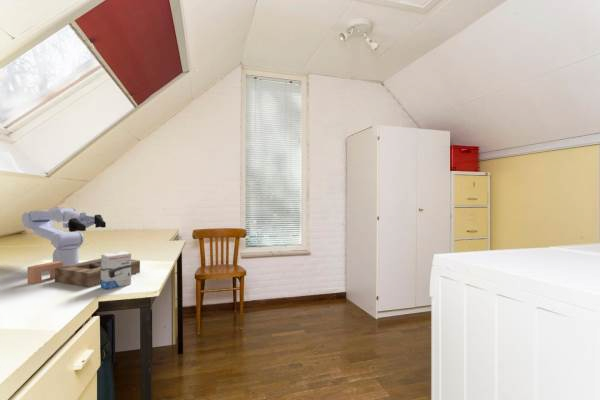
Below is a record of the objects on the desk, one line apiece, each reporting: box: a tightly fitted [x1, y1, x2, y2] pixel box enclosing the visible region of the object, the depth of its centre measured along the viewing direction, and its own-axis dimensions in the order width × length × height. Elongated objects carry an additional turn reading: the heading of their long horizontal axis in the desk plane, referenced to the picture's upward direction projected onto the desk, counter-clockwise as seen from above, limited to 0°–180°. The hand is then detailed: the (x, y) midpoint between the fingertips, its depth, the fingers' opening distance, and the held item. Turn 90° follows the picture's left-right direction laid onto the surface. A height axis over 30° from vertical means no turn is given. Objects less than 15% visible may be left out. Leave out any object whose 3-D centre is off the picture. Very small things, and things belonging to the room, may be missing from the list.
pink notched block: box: [26, 261, 63, 285], centre depth 117 cm, size 4×10×6 cm, turn 161°
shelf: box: [54, 258, 141, 288], centre depth 123 cm, size 18×22×5 cm
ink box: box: [100, 250, 132, 290], centre depth 112 cm, size 8×5×12 cm, turn 143°
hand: (95, 226), depth 125 cm, fingers open, 7 cm apart
